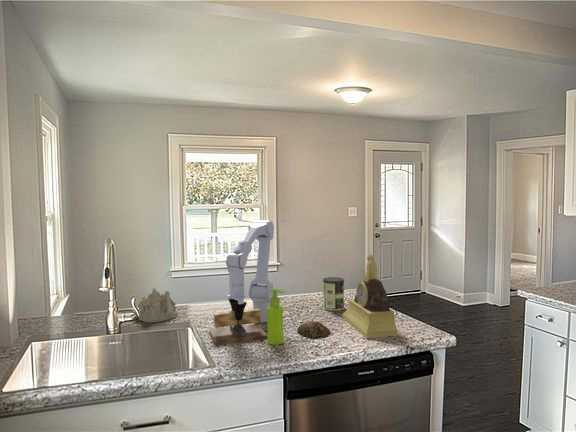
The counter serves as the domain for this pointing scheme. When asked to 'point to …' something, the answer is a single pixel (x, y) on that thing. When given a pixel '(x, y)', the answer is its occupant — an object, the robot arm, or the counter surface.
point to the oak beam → (230, 320)
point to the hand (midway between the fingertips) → (237, 318)
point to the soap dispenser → (275, 319)
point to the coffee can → (333, 293)
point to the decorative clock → (371, 307)
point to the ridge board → (231, 338)
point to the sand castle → (157, 307)
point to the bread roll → (313, 329)
